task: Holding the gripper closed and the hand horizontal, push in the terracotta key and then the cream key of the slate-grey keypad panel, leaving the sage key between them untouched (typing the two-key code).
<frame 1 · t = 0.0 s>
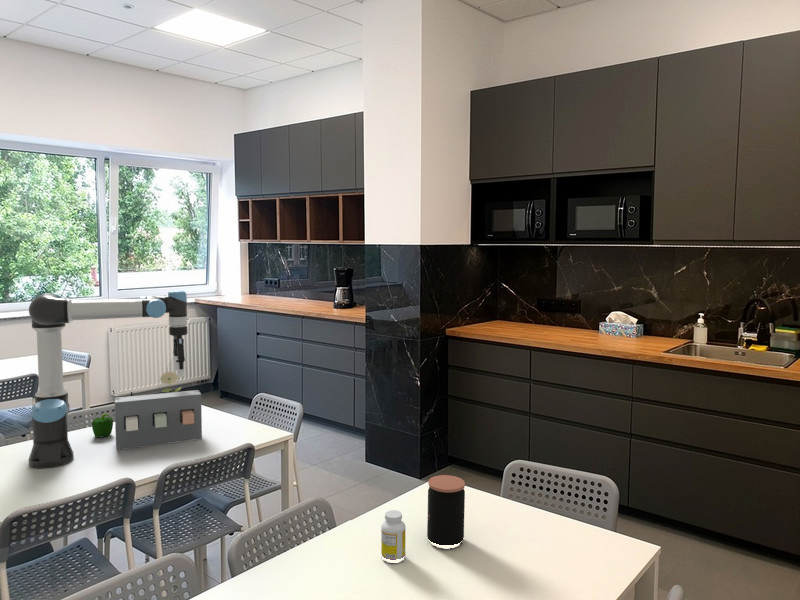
hand: (179, 373, 264), 28 cm above the table, tool pointing down, fingers open, 13 cm apart
bell pepper: (102, 436, 264), on the table
terracotta key: (187, 416, 257), point 11 cm above the table, slide at 0.0 cm
flower in vase: (175, 423, 284), on the table
cream key: (131, 423, 247), point 11 cm above the table, slide at 0.0 cm
sage key: (160, 419, 252), point 11 cm above the table, slide at 0.0 cm
keypad panel: (159, 441, 258), on the table
coffee jar: (445, 542, 174), on the table
drinking cup: (132, 436, 264), on the table
supplement bottle: (393, 559, 165), on the table
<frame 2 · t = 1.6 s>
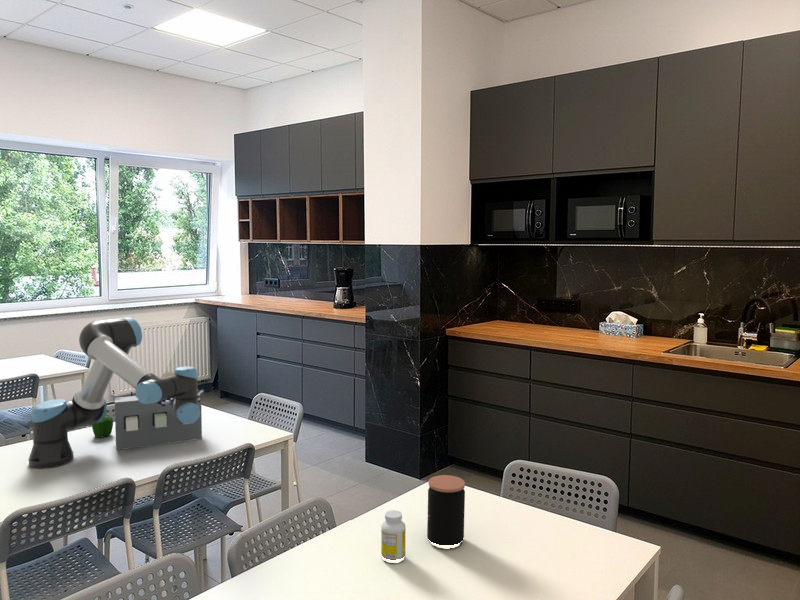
hand: (176, 391, 240), 26 cm above the table, tool horizontal, fingers open, 12 cm apart
nothing on the table moved.
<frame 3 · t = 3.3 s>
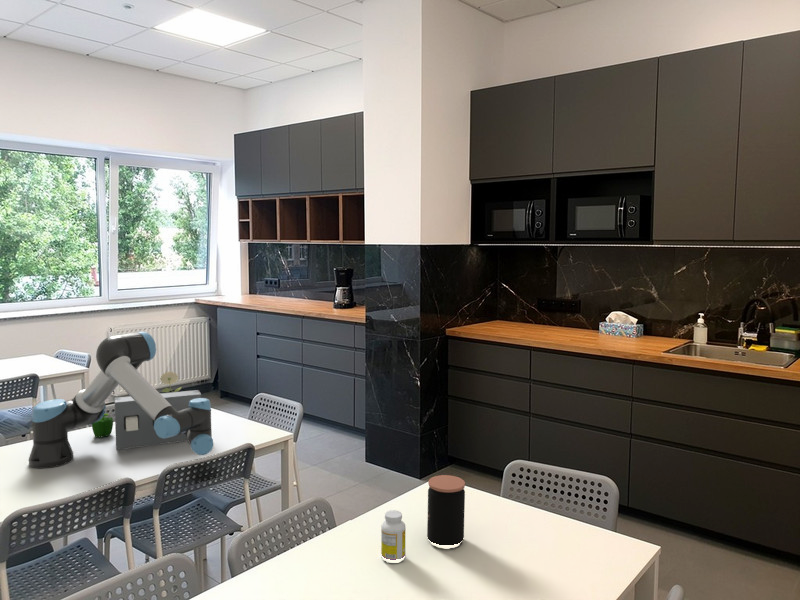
hand: (189, 418, 247), 13 cm above the table, tool horizontal, fingers closed
nothing on the table moved.
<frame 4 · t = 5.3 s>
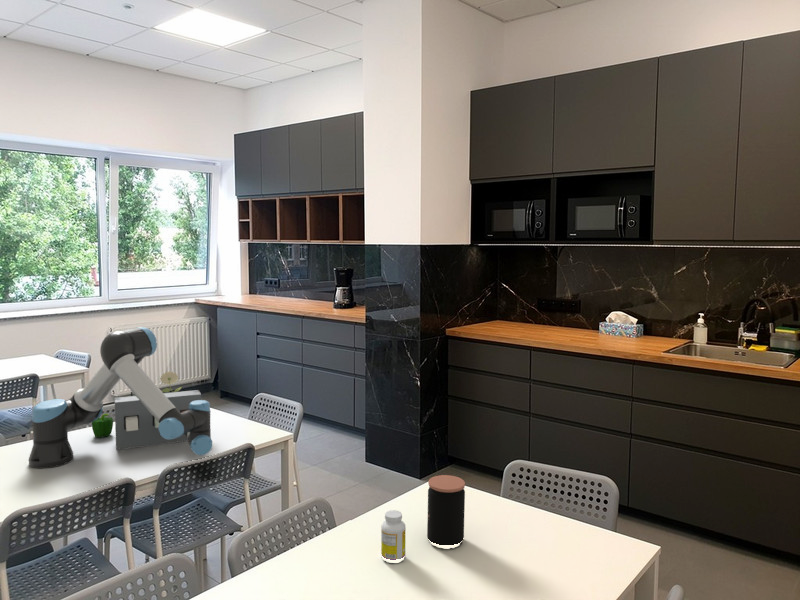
hand: (188, 418, 255), 11 cm above the table, tool horizontal, fingers closed
terracotta key: (187, 416, 258), point 11 cm above the table, slide at 1.2 cm
everything else where it was.
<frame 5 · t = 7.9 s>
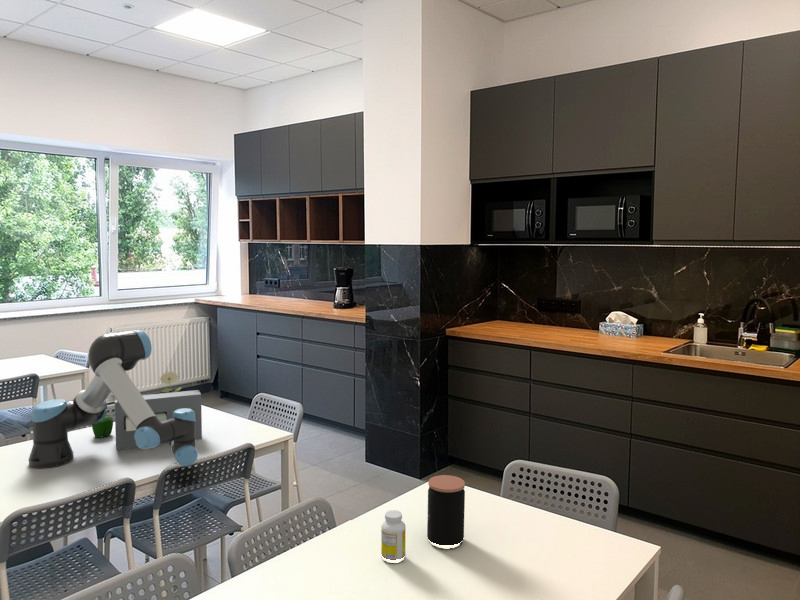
hand: (172, 426, 244), 11 cm above the table, tool horizontal, fingers closed
terracotta key: (186, 414, 260), point 11 cm above the table, slide at 3.3 cm
everything else where it was.
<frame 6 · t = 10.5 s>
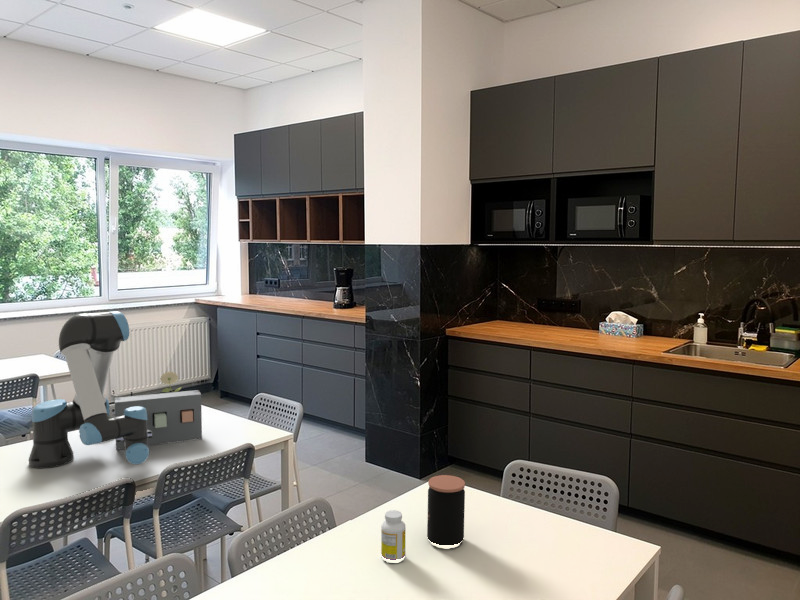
hand: (132, 424, 245), 11 cm above the table, tool horizontal, fingers closed
cream key: (131, 422, 248), point 11 cm above the table, slide at 1.3 cm, touching gripper
everything else where it was.
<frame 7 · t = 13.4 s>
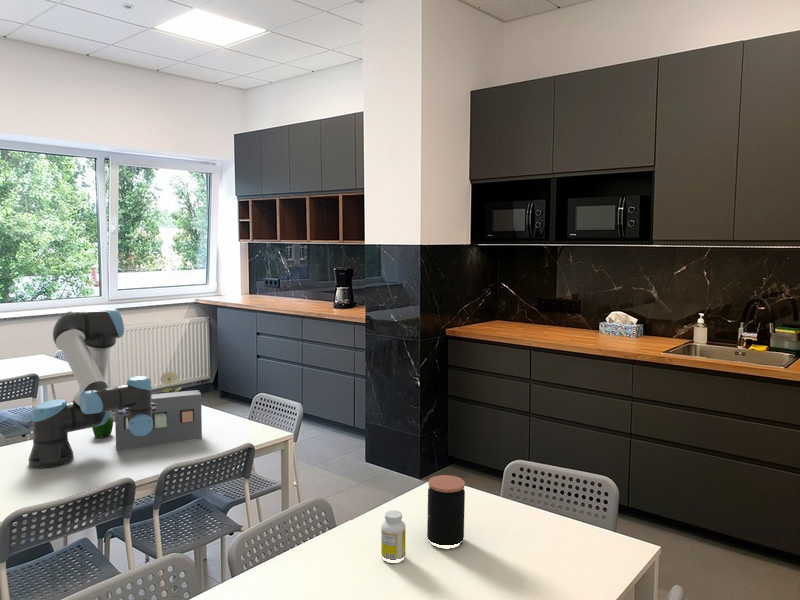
hand: (135, 397, 235), 25 cm above the table, tool horizontal, fingers closed
cream key: (131, 420, 250), point 11 cm above the table, slide at 3.3 cm
everything else where it was.
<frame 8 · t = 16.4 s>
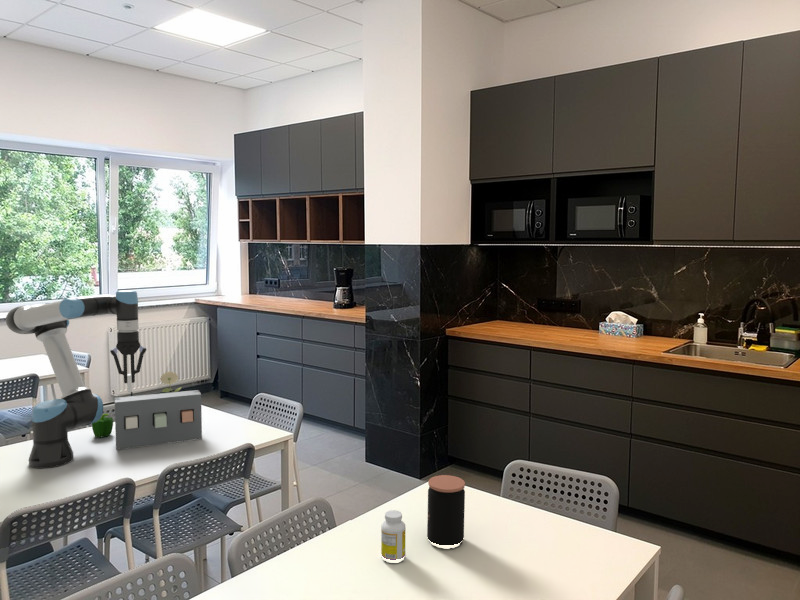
hand: (129, 391, 230), 28 cm above the table, tool pointing down, fingers closed
nothing on the table moved.
at the end: terracotta key slide at 3.3 cm; cream key slide at 3.3 cm; sage key slide at 0.0 cm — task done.
